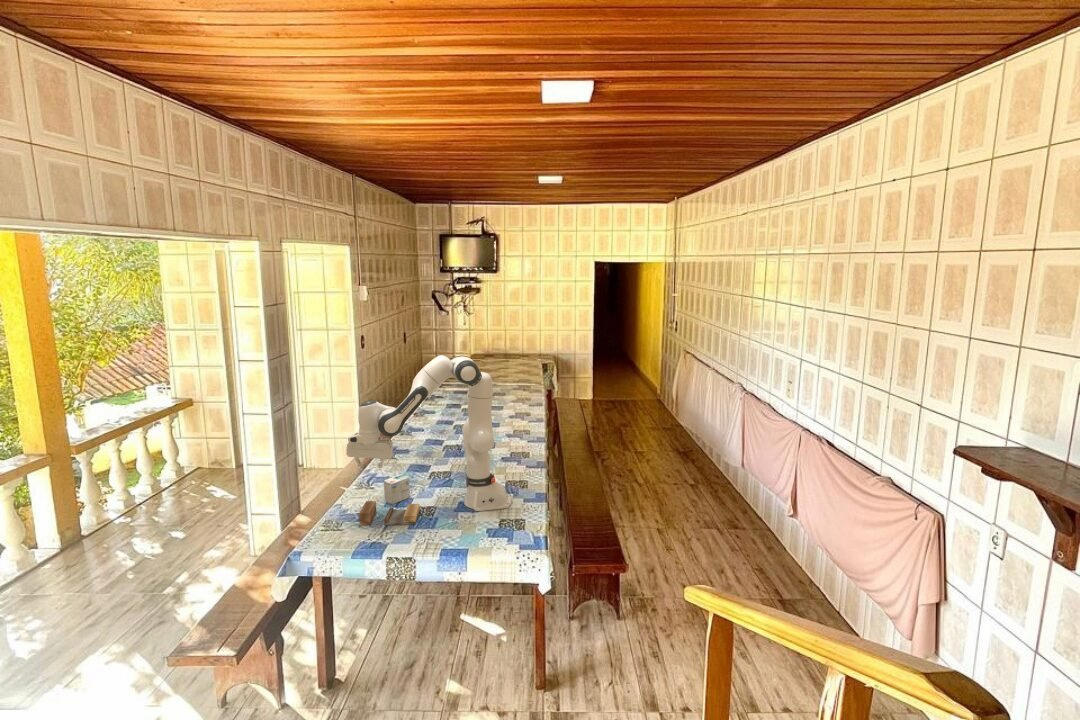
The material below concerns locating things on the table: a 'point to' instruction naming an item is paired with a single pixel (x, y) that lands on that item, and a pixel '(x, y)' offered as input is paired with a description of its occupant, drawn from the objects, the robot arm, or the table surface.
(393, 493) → the light bulb box
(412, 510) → the floor section
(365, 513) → the walnut plank
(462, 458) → the table surface
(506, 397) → the table surface
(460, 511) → the table surface
